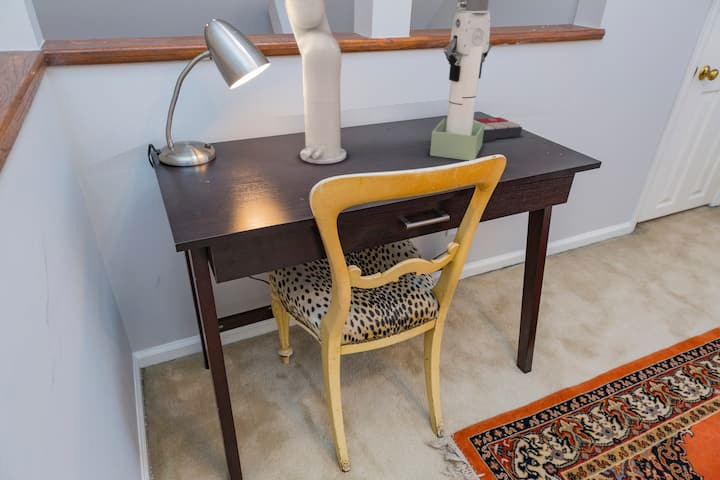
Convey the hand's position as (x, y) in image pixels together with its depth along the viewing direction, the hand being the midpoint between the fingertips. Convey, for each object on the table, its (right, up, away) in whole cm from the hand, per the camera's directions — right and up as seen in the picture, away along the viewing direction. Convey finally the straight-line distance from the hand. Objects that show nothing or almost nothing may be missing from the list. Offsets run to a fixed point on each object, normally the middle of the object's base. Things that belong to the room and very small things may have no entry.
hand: (464, 78), depth 130 cm
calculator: (+13, -10, +24) cm, 29 cm away
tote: (0, -17, +10) cm, 20 cm away
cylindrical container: (0, -15, +8) cm, 17 cm away
